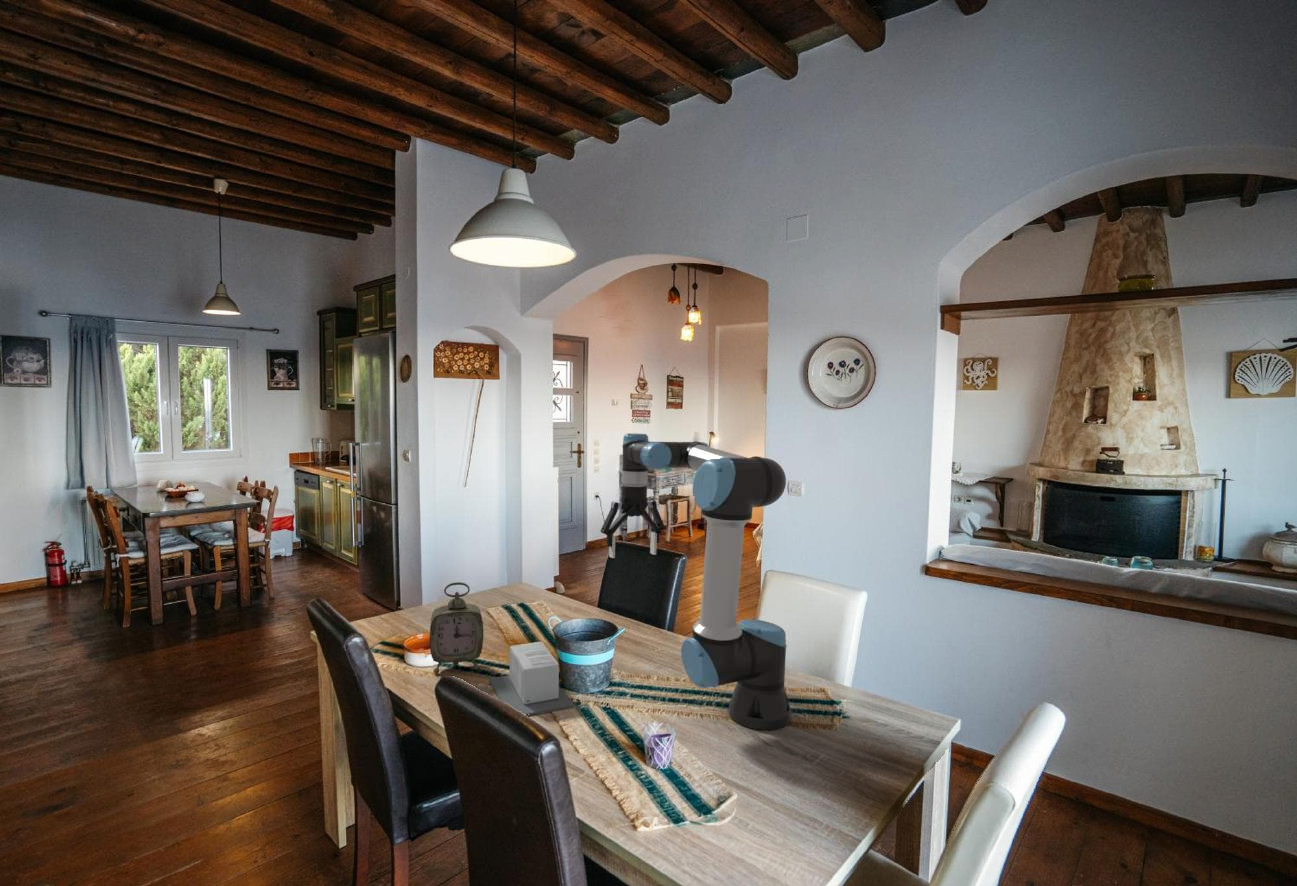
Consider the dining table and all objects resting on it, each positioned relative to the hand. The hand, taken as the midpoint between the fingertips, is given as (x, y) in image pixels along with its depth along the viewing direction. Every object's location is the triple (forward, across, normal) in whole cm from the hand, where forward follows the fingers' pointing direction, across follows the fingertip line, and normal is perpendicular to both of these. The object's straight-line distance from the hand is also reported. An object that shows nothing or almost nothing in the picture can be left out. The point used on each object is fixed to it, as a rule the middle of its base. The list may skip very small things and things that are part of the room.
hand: (632, 555), depth 190 cm
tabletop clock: (+32, +49, -13) cm, 60 cm away
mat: (+32, +34, +11) cm, 48 cm away
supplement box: (+26, +33, +2) cm, 42 cm away
